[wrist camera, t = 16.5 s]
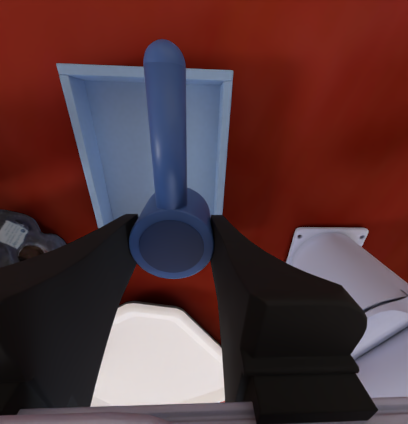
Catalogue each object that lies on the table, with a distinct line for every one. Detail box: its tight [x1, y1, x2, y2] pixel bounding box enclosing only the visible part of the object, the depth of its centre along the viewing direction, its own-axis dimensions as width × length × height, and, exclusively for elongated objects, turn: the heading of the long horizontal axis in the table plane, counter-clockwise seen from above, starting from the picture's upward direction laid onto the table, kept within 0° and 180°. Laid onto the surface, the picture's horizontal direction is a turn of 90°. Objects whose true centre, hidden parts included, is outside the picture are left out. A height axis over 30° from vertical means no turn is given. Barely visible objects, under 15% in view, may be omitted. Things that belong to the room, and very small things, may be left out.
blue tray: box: [56, 63, 233, 229], centre depth 16 cm, size 14×11×2 cm
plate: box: [90, 301, 225, 407], centre depth 31 cm, size 29×29×2 cm
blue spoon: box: [129, 39, 214, 279], centre depth 9 cm, size 10×4×3 cm, turn 178°
